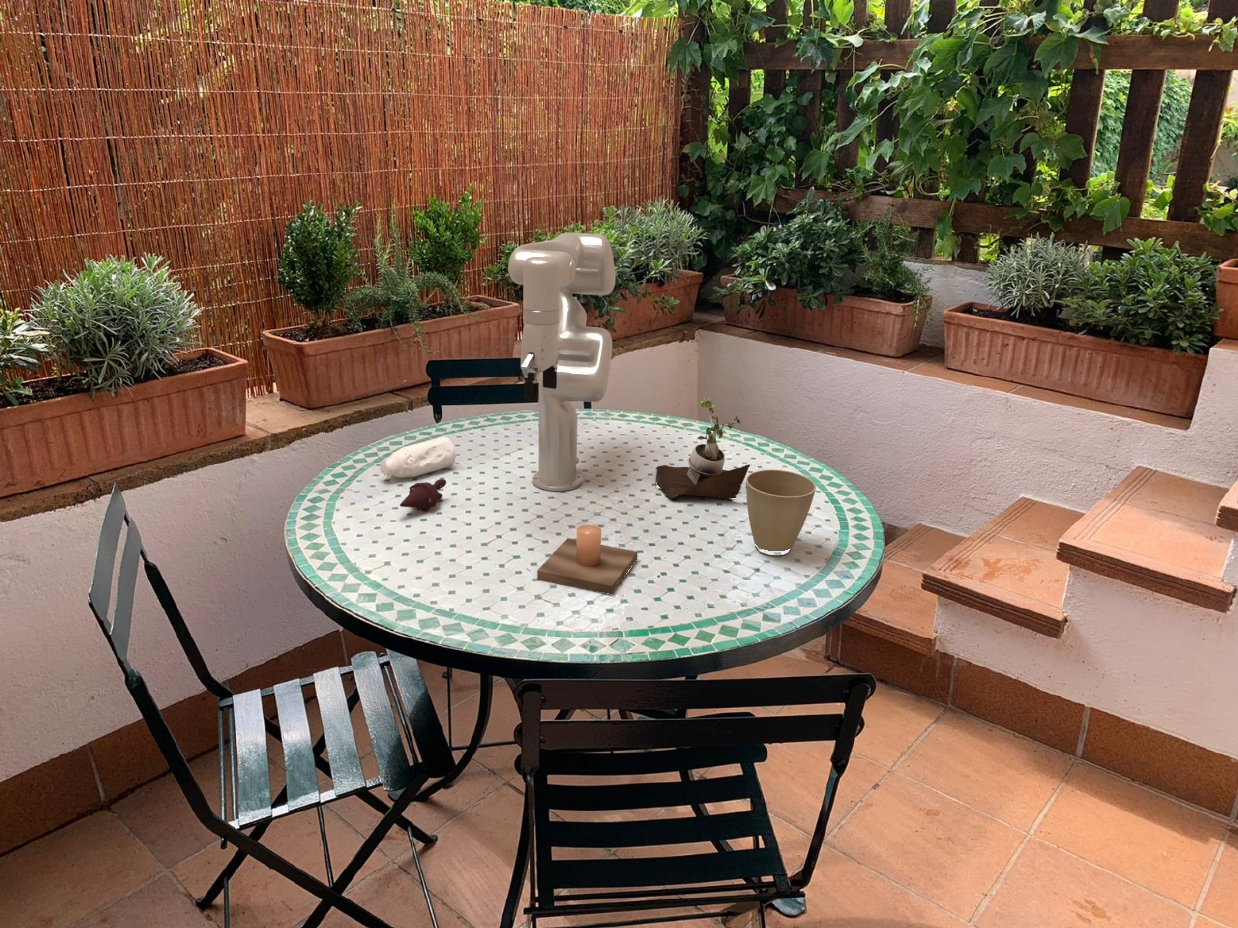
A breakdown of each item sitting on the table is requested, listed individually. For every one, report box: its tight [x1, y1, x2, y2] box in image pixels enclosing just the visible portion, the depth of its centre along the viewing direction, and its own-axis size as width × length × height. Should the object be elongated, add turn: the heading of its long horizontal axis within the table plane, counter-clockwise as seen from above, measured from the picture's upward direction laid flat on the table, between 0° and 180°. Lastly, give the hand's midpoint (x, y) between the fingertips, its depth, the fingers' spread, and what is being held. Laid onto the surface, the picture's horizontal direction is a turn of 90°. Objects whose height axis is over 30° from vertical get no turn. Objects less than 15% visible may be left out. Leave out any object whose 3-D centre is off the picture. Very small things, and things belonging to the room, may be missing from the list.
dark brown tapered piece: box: [399, 478, 447, 513], centre depth 214 cm, size 7×7×15 cm
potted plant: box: [654, 398, 751, 499], centre depth 229 cm, size 20×19×25 cm
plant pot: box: [745, 469, 817, 551], centre depth 200 cm, size 15×15×16 cm
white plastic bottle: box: [379, 436, 457, 480], centre depth 234 cm, size 8×19×8 cm, turn 134°
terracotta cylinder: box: [576, 524, 602, 566], centre depth 189 cm, size 5×5×7 cm
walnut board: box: [536, 537, 638, 595], centre depth 191 cm, size 16×16×2 cm
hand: (540, 393), depth 202 cm, fingers open, 9 cm apart
